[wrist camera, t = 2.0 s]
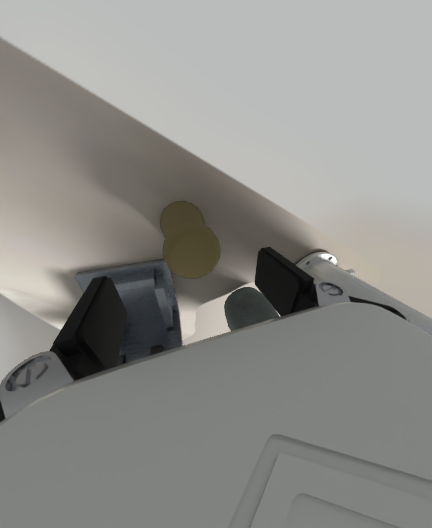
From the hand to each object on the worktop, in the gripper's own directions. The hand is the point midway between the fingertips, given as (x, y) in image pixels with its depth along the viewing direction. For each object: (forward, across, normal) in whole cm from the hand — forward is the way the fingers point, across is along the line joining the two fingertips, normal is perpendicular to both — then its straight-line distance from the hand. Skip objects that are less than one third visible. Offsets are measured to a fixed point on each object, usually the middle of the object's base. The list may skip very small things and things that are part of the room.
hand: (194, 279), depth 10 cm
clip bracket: (+14, +8, +12) cm, 20 cm away
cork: (+14, -1, 0) cm, 14 cm away
